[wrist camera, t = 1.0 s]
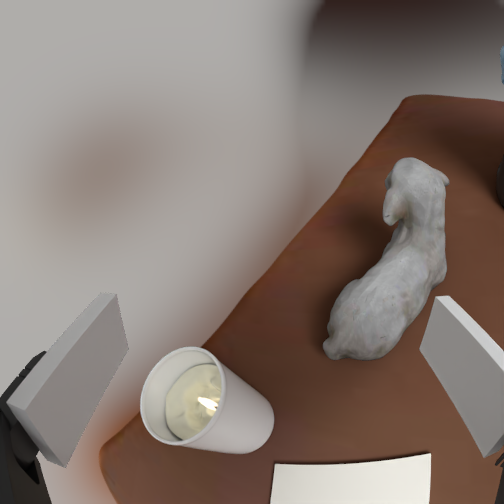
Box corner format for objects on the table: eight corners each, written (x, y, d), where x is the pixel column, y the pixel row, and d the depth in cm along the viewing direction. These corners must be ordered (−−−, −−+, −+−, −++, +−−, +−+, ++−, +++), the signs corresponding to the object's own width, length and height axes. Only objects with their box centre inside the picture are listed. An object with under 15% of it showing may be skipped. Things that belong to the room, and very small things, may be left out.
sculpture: (457, 240, 33) (452, 141, 24) (399, 392, 26) (386, 334, 17) (387, 226, 41) (361, 137, 31) (316, 357, 34) (259, 287, 24)
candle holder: (294, 397, 31) (242, 359, 24) (260, 472, 26) (192, 463, 19) (228, 376, 37) (168, 336, 30) (197, 441, 32) (126, 416, 25)
